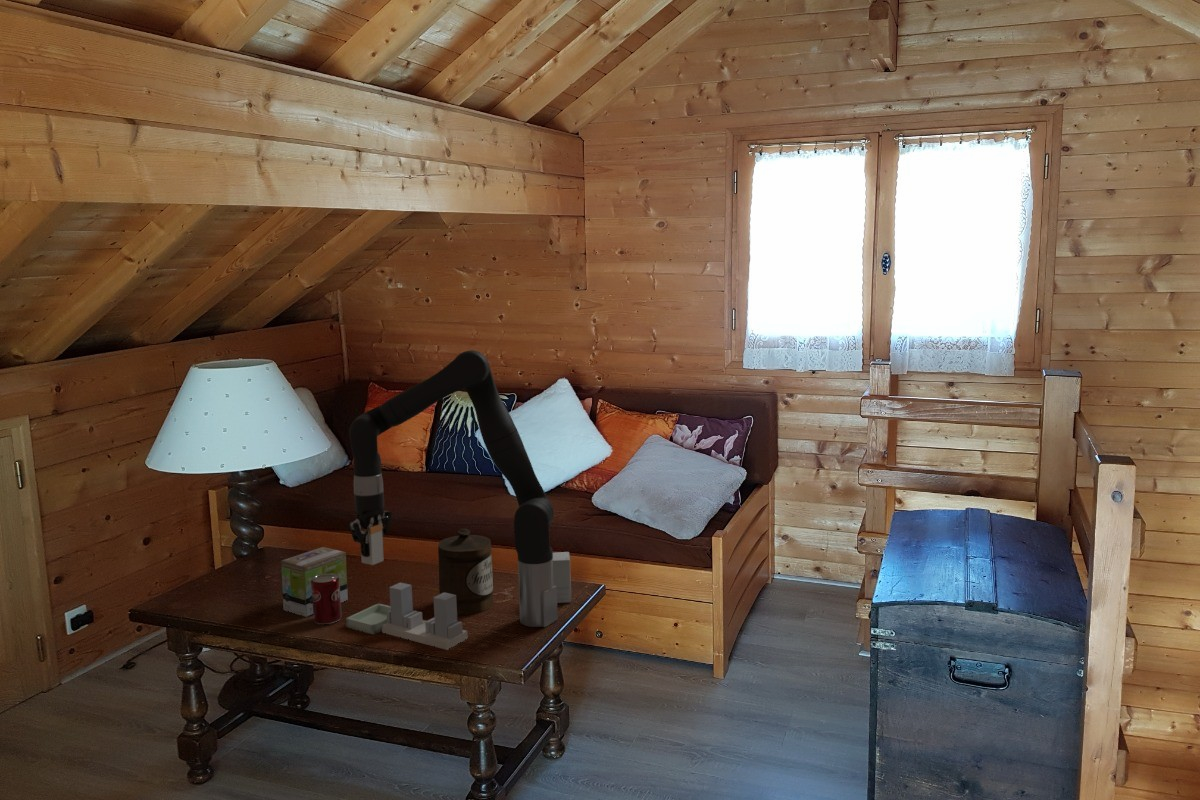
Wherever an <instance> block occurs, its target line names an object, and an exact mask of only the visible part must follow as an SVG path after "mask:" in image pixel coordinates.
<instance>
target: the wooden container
mask: <svg viewBox="0 0 1200 800" xmlns="http://www.w3.org/2000/svg"><path fill="white" fill-rule="evenodd" d="M437 545H438V547H437V550H438V551H437V552H438V587H439V588H438V590H439V594H442V593H444V592H445V593H449V594H454V595H456V602H457V615H472V614H477V613H481V612H483V611H486V610H488V609H490V608H492V606H493V605H494V585H493V584H494V582H493V581H494V580H493V579H494V577H493V576H494V575H493V561H492V560H493V559H492V541H491V539H490V538H489V537H486V536H483V535H479V534H471V530H470V529H468V528H460V529H459V530H458V531H457V535H454V536H450V537H445V538H443V539H441V540H440V541H439V542H438V544H437Z"/></svg>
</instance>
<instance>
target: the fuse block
mask: <svg viewBox="0 0 1200 800" xmlns="http://www.w3.org/2000/svg"><path fill="white" fill-rule="evenodd" d="M413 603H414V602H413V589H412V584H409V583H404V582H398V583H396V584H393V585H392V586H389V604H390V605H389V606H390V607H391V610H390V611H388V612H386V615H387V623H386V624H384V625H382V631H381V633H382V634H385V633H386V634H385V635H390V636H393V637H396V638H400V637H401V638H402V639H405V640H408V639H409V641H411V642H416V643H420V644H423V645H427V646H431V647H434V646H435V647H434V648H438V649H442V650H446V651H448V650H450V649H452V648H454V647H456V646H457V645H459V644H461V643H462V642H464V641H466V640H467V638H469V636H468V630H465V629H463V622H462V621H458V614H457V602H456V595H454V594H449V593H445V592H444V593H442V594H440V593H439V594H438V595H436V596H433V613H434V616H433V617H432V618H430V619H428V620H425V619H423V612H422V611H418V610H414V608H413V607H414V606H413ZM465 639H466V640H465ZM460 642H461V643H460ZM458 643H459V644H458ZM451 647H452V648H451ZM449 648H450V649H449Z"/></svg>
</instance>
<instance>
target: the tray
mask: <svg viewBox="0 0 1200 800" xmlns="http://www.w3.org/2000/svg"><path fill="white" fill-rule="evenodd" d="M390 610H391V607H390V605H387V604H382V603H376V604H373V605H371V606H370V607H367V608H365V609H362V610H361V611H359V612H357V613H354V614H352V615H350V616H348V617H346V618H345V627H346V628H347V627H348V628H349V629H351V628H352V630H355V631H358V630H359V632H362V631H363V633H366V634H369V635H376V634H379V633H380V632H382V625H384V624H386V623H387V615H386V612H388V611H390Z"/></svg>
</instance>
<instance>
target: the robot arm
mask: <svg viewBox="0 0 1200 800" xmlns="http://www.w3.org/2000/svg"><path fill="white" fill-rule="evenodd" d="M464 389H465V391H466V393H467V395H468V397H469V399H470V401H471V403H472V405H473V408H474V411H475V415H476V420H477V424H478V428H479V431H480V434H481V439H482V440H483V443H484V446H485V448H486V450H487V452H488V455H489V457H490V459H491V462H492V463H493V464H494V465H495V466H496V468H497V469H498V471H500V473H501V474H502V475H503V476H504V477H505V479H506V480H507V481H508V483H509V485H510V486H511V488H512V490H513V493H514V495H515V498H516V500H517V503H518V507H517V508H516V511H515V512H514V513H515V514H514V519H513V529H514V530H513V531H514V547H515V551H516V553H517V570H518V571H517V572H518V576H517V577H518V597H519V598H518V603H519V605H518V607H519V623H520V624H522V625H523V626H526V627H529V628H530V627H532V628H539V627H541V628H547V627H548V626H549V625H551V624H553V623H555V622H556V621H558V619H559V617H558V616H559V615H558V603H557V586H555V585H553V553H554V552H553V548H552V546H551V543H550V525H551V524H552V522H553V520H554V515H555V511H554V508H553V507H554V506H553V505H552V502H551V500H550V499H549V497H548V495H547V494H546V492H545V490H544V488H543V487H542V484H541V483H540V481H539V479H538V478H537V475H536V473H535V470H534V468H533V464H532V462H531V460H530V458H529V455H528V453H527V450H526V448H525V446H524V442H523V441H522V438H521V436H520V433H519V431H518V428H517V427H516V425H515V422H514V421H513V418H512V416H511V415H510V411H508V409H507V407H506V405H505V403H504V401H503V400H502V398H501V396H500V393H499V391H498V388H497V386H496V382H495V379H494V376H493V373H492V370H491V367H490V362H489V360H488V358H487V357H486V356H485V355H484V354H483V353H482V352H480V351H477V350H466V351H463V352H461V353H459V354H458V355H457V356H455V358H454V359H453V360H452V361H450V363H448V364H446V366H445V367H443V368H442V369H441V370H438V372H437V373H435V374H433V375H432V376H430V377H429V378H427V379H425V380H423V381H421V382H420V383H417V384H416V385H413V386H411V387H409V388H407V389H406V390H404V391H402V392H400V393H397V394H396V395H395V396H393V397H391V398H389V399H387V400H386V401H384V402H383V403H382V404H380V405H378V406H376V407H373V408H372V409H370V410H368V411H365V412H364V413H362V414H360V415H358V416H357V417H356V418H355V419H354V420H353V421H352V423H351V424H350V426H349V431H348V433H349V435H348V436H349V444H350V448H351V453H352V457H353V458H352V459H353V460H352V461H353V463H352V465H353V466H352V467H353V496H354V498H353V499H354V508H355V510H356V512H357V515H356V518H355V520H354V521H349V522H348V524H347V526H348V528H349V531H350V534H351V536H352V540H353V542H355V543H359V544H360V555H361V554H362V556H364V557H369V556H370V549H369V535H370V528H372V526H375V525H380V524H382V539H383V538H384V537H385V535H388V534H389V532H390V531H389V530H390V526H391V521H392V515H393V514H392V511H389V510H384V509H383V508H384V507H385V492H384V479H383V476H382V475H383V473H382V459H381V455H380V452H379V451H378V450H379V449H378V448H379V447H378V436H380V435H381V434H383V433H385V432H387V431H388V430H390V429H392V428H393V427H394V428H395V427H397V426H399V425H402V424H404V423H406V422H407V421H409V420H411V419H412V418H415V417H416V416H417V415H420V413H421V414H422V412H424V411H426V409H428V408H431V406H433V405H434V404H436V403H438V402H439V401H440V400H442V399H444V398H446V397H448V396H450V395H452V394H454V393H457V392H459V391H462V390H464ZM362 528H363V529H367V531H363V530H362ZM364 534H365V538H364ZM383 540H384V539H383Z"/></svg>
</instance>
